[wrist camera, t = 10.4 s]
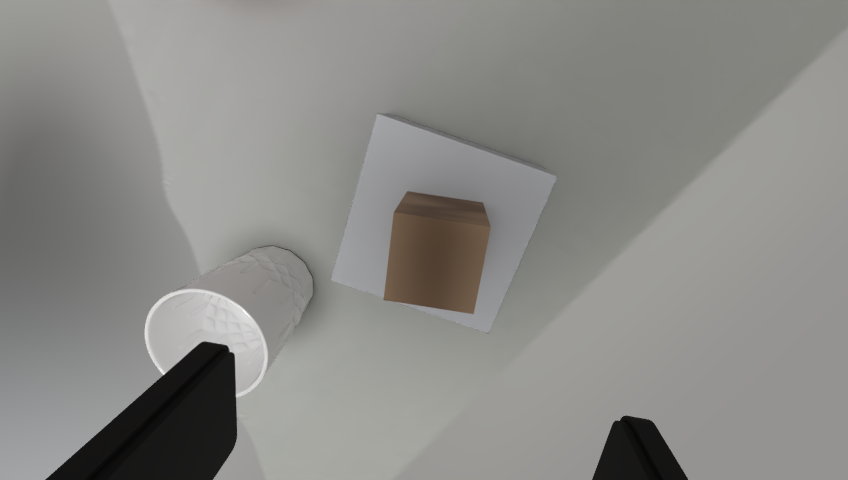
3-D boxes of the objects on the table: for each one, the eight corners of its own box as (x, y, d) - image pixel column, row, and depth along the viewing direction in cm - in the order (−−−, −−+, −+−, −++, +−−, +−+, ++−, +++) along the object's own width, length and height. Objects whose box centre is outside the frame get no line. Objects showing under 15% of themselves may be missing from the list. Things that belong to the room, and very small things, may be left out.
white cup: (273, 338, 36) (206, 419, 26) (213, 270, 34) (118, 331, 25) (339, 294, 34) (293, 364, 24) (278, 220, 32) (204, 264, 23)
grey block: (541, 166, 30) (557, 176, 25) (483, 302, 33) (488, 333, 29) (390, 113, 29) (377, 113, 25) (348, 256, 33) (330, 280, 28)
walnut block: (482, 202, 26) (490, 226, 20) (469, 272, 27) (473, 314, 22) (407, 191, 26) (393, 212, 20) (398, 261, 27) (383, 299, 22)
